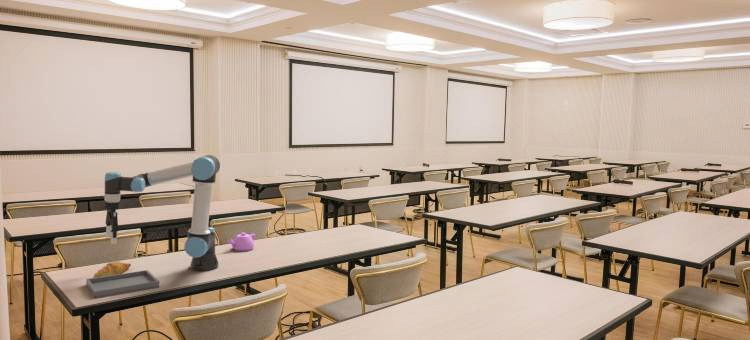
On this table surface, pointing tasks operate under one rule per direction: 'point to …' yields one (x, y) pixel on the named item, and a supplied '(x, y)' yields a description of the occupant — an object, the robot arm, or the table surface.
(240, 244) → the teapot
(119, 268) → the croissant
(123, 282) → the serving tray
